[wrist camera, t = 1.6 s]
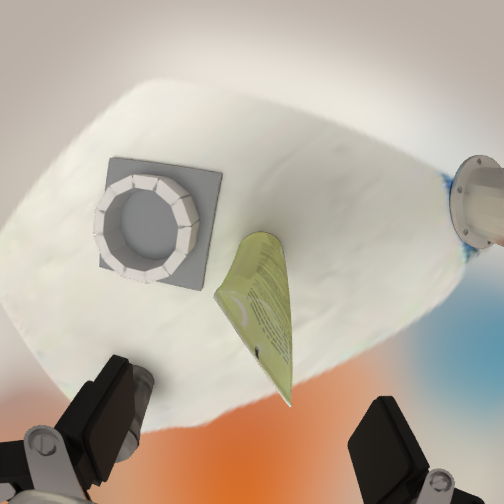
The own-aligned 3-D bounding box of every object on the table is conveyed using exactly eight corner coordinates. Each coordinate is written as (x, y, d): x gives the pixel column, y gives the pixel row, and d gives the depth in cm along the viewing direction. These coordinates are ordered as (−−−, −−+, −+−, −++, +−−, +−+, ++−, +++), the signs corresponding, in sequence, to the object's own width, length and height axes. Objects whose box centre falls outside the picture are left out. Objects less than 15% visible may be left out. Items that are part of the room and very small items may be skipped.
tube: (226, 265, 32) (186, 380, 13) (240, 222, 31) (213, 295, 12) (274, 281, 32) (291, 408, 14) (290, 239, 31) (335, 333, 12)
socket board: (222, 173, 30) (215, 173, 25) (202, 287, 33) (193, 306, 28) (113, 158, 29) (91, 156, 24) (103, 264, 32) (82, 277, 28)
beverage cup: (172, 379, 37) (128, 497, 17) (148, 402, 38) (106, 505, 19) (130, 349, 36) (61, 456, 16) (110, 374, 37) (50, 470, 18)
